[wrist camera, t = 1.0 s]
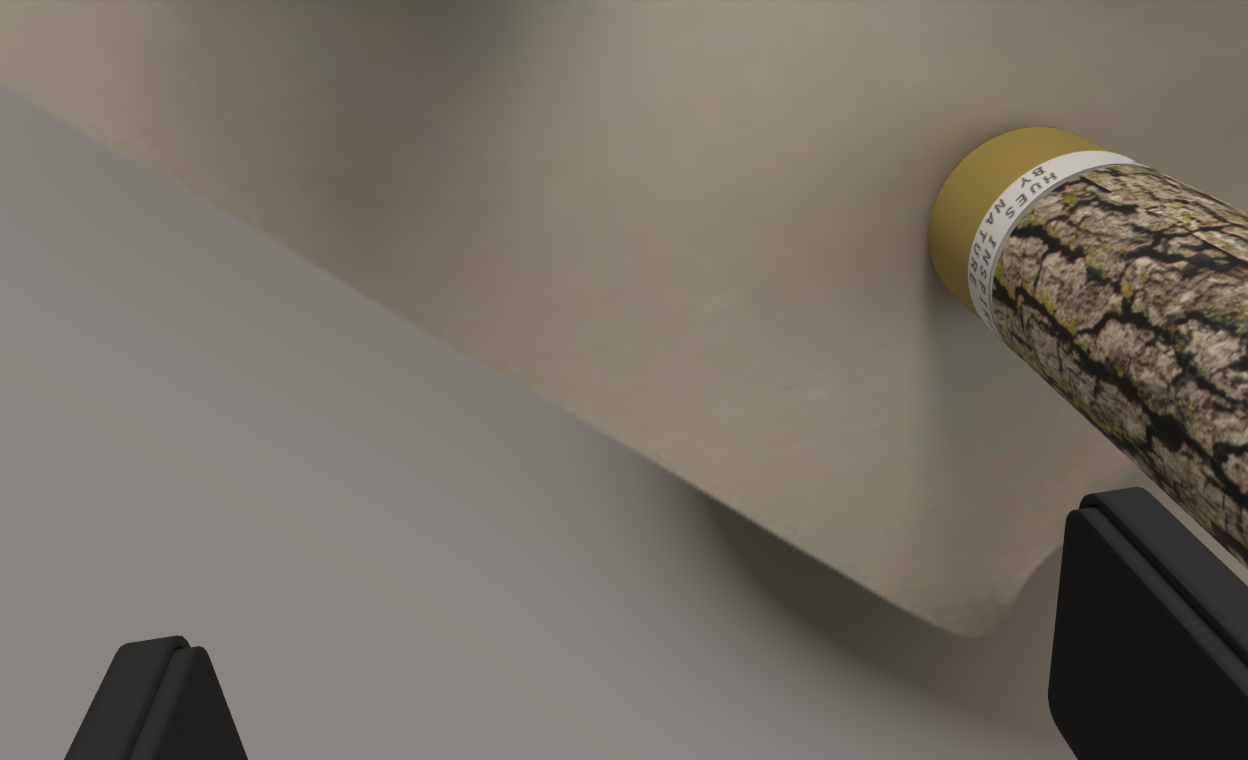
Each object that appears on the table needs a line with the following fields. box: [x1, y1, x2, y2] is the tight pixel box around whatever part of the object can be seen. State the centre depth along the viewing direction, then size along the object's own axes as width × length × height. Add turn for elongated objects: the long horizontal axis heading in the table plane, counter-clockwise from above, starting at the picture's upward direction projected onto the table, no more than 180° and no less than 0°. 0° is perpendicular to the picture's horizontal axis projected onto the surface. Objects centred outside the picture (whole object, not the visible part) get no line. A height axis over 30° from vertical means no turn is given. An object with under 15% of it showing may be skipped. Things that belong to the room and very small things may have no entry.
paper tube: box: [928, 127, 1248, 569], centre depth 26 cm, size 7×7×25 cm
